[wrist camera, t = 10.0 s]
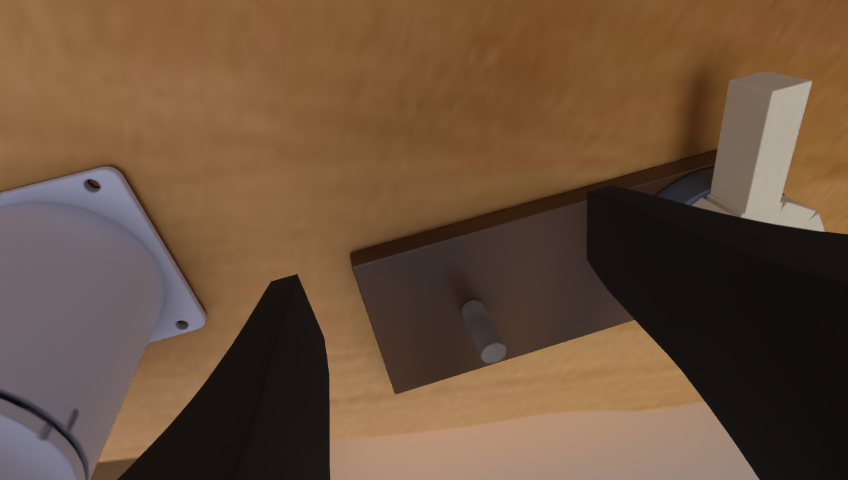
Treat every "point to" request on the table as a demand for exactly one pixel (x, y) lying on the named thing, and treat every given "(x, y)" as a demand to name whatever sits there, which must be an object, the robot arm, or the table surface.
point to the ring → (760, 151)
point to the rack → (500, 281)
